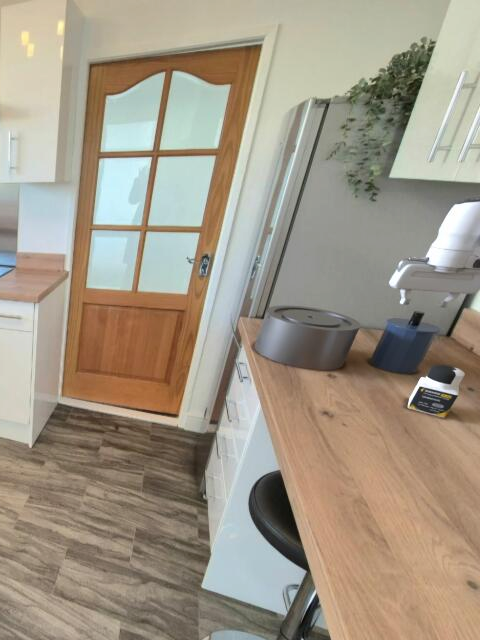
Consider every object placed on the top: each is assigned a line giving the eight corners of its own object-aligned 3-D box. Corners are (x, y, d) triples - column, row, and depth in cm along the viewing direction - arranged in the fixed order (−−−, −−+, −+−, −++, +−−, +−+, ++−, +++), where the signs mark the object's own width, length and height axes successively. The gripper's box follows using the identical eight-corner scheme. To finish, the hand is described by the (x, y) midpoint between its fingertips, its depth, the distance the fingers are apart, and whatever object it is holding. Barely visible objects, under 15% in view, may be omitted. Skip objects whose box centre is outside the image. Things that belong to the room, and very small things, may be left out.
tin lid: (426, 324, 135) (434, 308, 133) (448, 337, 125) (457, 320, 122) (378, 319, 139) (385, 304, 136) (396, 332, 129) (404, 315, 126)
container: (361, 372, 133) (380, 332, 127) (273, 366, 137) (287, 327, 131) (317, 343, 155) (332, 307, 149) (243, 338, 159) (254, 303, 153)
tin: (405, 362, 141) (425, 323, 134) (423, 376, 131) (446, 335, 125) (363, 356, 144) (381, 318, 138) (378, 370, 135) (398, 330, 129)
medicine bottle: (407, 408, 114) (429, 367, 109) (408, 399, 119) (430, 359, 113) (444, 418, 110) (469, 377, 104) (445, 408, 114) (469, 368, 109)
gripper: (409, 258, 122) (387, 305, 128) (499, 263, 117) (471, 311, 123) (396, 254, 127) (375, 299, 134) (482, 258, 122) (456, 305, 129)
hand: (422, 305), depth 129 cm, fingers open, 8 cm apart
